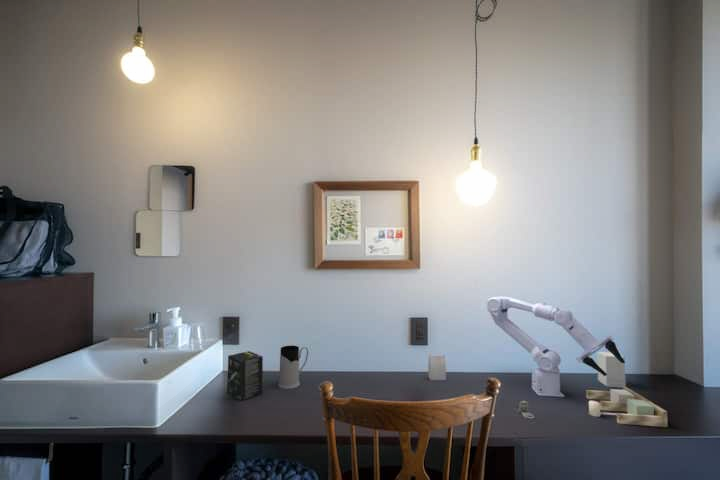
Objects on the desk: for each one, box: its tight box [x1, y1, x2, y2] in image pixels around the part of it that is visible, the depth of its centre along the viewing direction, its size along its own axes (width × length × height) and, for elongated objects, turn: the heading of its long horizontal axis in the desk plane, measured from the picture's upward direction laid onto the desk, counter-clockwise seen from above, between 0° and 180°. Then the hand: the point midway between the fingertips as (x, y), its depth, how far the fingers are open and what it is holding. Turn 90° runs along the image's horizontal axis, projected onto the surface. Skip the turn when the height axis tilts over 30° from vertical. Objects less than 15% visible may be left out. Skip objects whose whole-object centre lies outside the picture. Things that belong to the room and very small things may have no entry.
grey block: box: [609, 388, 634, 402], centre depth 121 cm, size 5×5×5 cm
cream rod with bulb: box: [588, 399, 654, 418], centre depth 112 cm, size 18×5×5 cm, turn 82°
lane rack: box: [585, 386, 669, 428], centre depth 117 cm, size 14×20×5 cm
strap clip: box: [513, 400, 535, 420], centre depth 115 cm, size 8×3×4 cm, turn 4°
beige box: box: [427, 354, 447, 381], centre depth 147 cm, size 4×7×10 cm, turn 90°
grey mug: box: [277, 345, 309, 390], centre depth 141 cm, size 9×14×15 cm, turn 139°
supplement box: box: [596, 351, 627, 389], centre depth 142 cm, size 7×7×13 cm
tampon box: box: [226, 350, 264, 402], centre depth 129 cm, size 11×9×15 cm
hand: (614, 368), depth 118 cm, fingers open, 7 cm apart
